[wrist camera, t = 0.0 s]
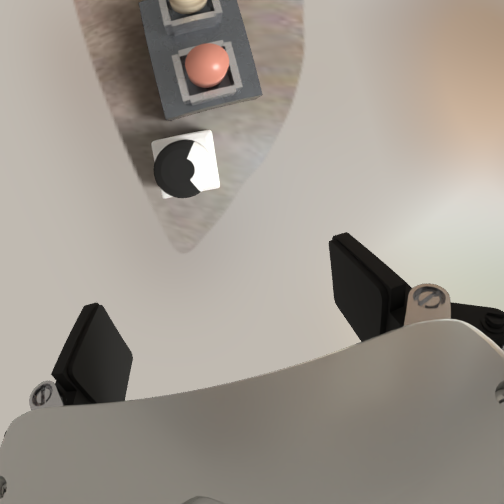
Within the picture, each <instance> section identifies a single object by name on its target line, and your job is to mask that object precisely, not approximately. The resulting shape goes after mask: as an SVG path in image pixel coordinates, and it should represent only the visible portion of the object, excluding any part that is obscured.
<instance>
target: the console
mask: <svg viewBox="0 0 504 504" xmlns="http://www.w3.org/2000/svg"><path fill="white" fill-rule="evenodd" d="M139 7H140V12H141V17H142V22H143V27H144V31H145V36H146V40H147V45H148V49H149V54H150V58H151V62H152V66H153V71H154V75H155V79H156V83H157V87H158V91H159V95H160V99H161V102H162V106H163V110H164V114H165V118H166V120H169V121H172V120H175V119H179V118H182V117H185V116H189V115H192V114H196V113H199V112H203V111H207V110H210V109H214V108H218V107H222V106H226V105H231V104H235V103H239V102H244V101H249V100H254V99H257V98H258V97H260V96H262V91H261V87H260V83H259V79H258V75H257V71H256V67H255V64H254V60H253V56H252V52H251V49H250V45H249V41H248V38H247V34H246V31H245V27H244V24H243V20H242V17H241V14H240V10H239V7H238V4H237V0H207V3H206V5H205V6H204V7H203V8H202V9H201V10H200V11H198V12H195V13H192V14H180V13H177V12H176V11H174V10H173V9H172V7H171V5H170V1H169V0H144V1H141V2H139ZM205 43H211V44H216V45H218V46H220V47H222V48H223V49H224V50H225V51H226V52H227V54H228V57H229V67H228V69H227V72H226V75H225V77H224V79H223V80H222V81H221V82H220V83H219V84H217V85H216V86H213V87H209V88H202V87H198V86H196V85H195V84H193V83H192V82H191V81H190V79H189V77H188V74H187V71H186V67H185V60H186V57H187V55H188V53H189V52H190V51H191V50H192V49H193V48H194V47H196V46H198V45H201V44H205Z"/></svg>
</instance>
